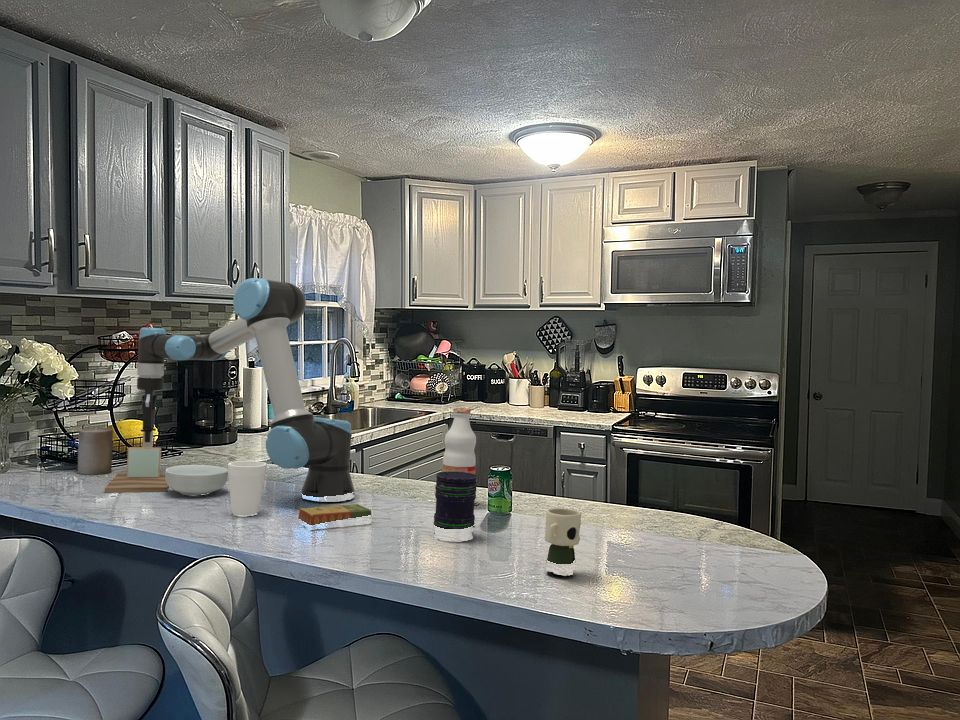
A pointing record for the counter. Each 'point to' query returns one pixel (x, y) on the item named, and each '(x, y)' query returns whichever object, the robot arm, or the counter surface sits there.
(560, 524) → the character mug
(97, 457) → the pillar candle
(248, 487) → the foam cup
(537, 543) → the counter surface
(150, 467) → the tile
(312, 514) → the brown and green block
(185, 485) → the cereal bowl
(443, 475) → the storage jar
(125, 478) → the board
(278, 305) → the robot arm
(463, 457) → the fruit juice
